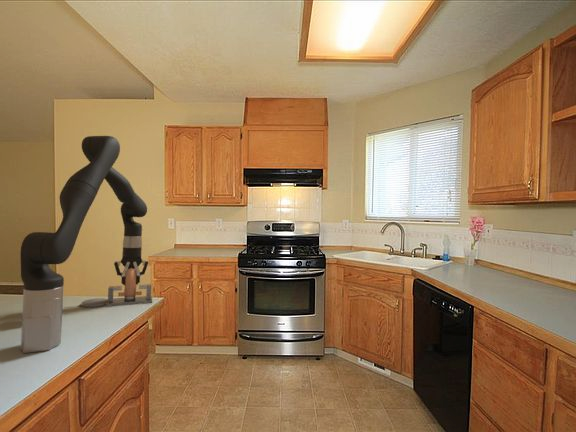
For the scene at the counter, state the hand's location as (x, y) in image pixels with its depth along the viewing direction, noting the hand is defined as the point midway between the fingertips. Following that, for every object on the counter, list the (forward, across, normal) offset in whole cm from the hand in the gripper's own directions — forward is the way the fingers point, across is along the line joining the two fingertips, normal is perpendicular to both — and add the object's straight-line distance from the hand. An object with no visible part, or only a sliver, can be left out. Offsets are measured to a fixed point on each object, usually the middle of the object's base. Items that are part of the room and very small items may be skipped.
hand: (130, 284), depth 137 cm
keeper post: (+8, 0, 0) cm, 8 cm away
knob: (+5, 0, 0) cm, 5 cm away
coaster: (+8, -13, 0) cm, 15 cm away
